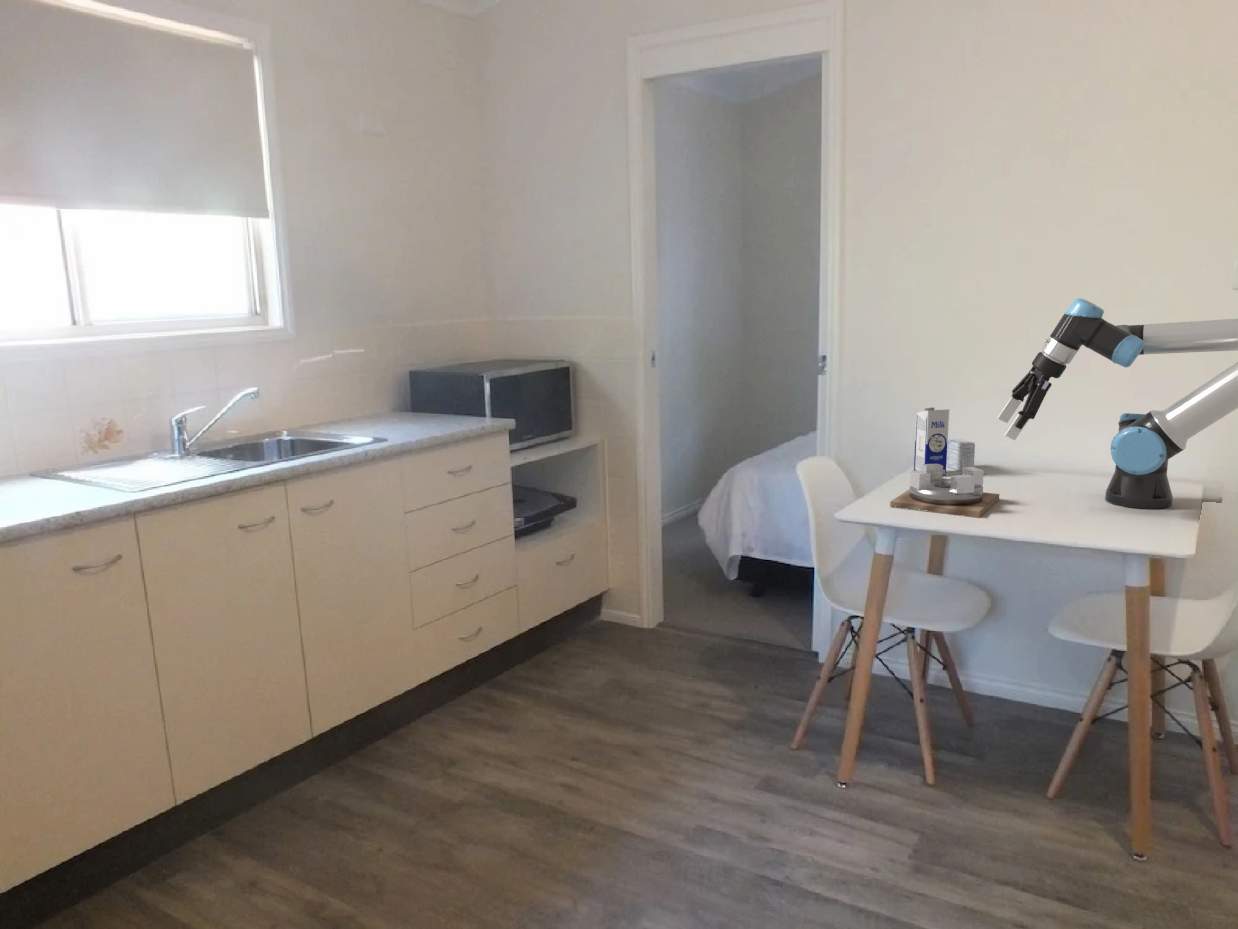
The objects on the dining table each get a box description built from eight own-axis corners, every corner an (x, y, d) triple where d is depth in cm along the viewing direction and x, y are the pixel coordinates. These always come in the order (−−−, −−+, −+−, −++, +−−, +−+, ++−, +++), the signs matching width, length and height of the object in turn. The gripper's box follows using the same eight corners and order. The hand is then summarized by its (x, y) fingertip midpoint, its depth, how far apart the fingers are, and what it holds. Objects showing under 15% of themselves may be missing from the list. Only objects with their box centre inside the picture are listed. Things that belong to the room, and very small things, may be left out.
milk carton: (924, 476, 275) (927, 409, 271) (913, 472, 281) (916, 406, 277) (946, 475, 276) (949, 408, 272) (934, 471, 283) (937, 405, 279)
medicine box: (974, 470, 282) (975, 442, 280) (961, 471, 281) (962, 443, 279) (959, 466, 290) (960, 438, 288) (946, 466, 289) (947, 439, 287)
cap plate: (999, 499, 246) (999, 493, 245) (979, 517, 228) (979, 510, 227) (915, 490, 258) (915, 484, 257) (890, 507, 240) (890, 500, 239)
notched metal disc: (989, 493, 245) (991, 467, 243) (972, 508, 230) (974, 480, 229) (920, 486, 255) (922, 461, 253) (900, 499, 240) (901, 473, 239)
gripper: (1031, 339, 244) (986, 407, 253) (1049, 364, 222) (999, 438, 231) (1057, 352, 244) (1012, 419, 253) (1078, 378, 221) (1026, 451, 230)
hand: (1005, 428), depth 242 cm, fingers open, 13 cm apart
